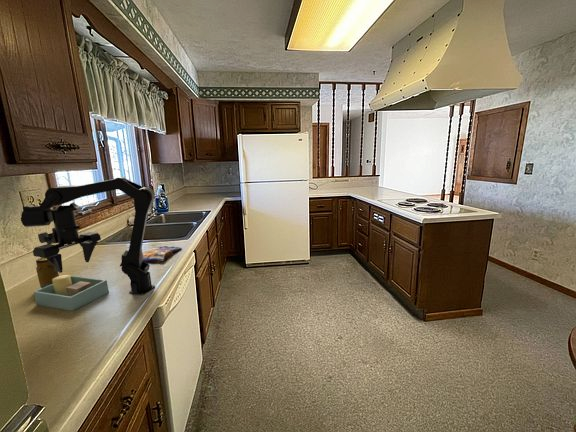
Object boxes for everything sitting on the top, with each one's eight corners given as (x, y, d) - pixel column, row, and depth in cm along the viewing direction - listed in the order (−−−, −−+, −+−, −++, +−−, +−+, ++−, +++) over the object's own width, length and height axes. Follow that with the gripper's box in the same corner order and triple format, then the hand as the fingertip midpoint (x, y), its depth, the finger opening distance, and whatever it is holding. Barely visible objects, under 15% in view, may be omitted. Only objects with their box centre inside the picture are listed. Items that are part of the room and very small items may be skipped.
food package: (124, 265, 130) (123, 257, 129) (155, 248, 154) (154, 241, 153) (167, 266, 127) (166, 257, 126) (191, 248, 152) (190, 241, 151)
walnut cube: (83, 293, 100) (80, 281, 99) (93, 295, 99) (90, 282, 98) (69, 300, 96) (66, 287, 95) (79, 302, 94) (76, 289, 93)
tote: (74, 287, 107) (72, 275, 106) (108, 292, 102) (106, 280, 101) (36, 304, 95) (33, 291, 93) (73, 311, 90) (70, 297, 89)
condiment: (48, 283, 111) (42, 255, 108) (70, 282, 112) (64, 254, 109) (34, 292, 104) (27, 262, 101) (57, 290, 105) (51, 261, 102)
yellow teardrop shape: (77, 292, 101) (73, 274, 100) (65, 299, 97) (60, 280, 95) (65, 291, 102) (61, 274, 101) (53, 298, 97) (48, 280, 96)
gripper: (75, 216, 102) (83, 255, 106) (15, 230, 85) (27, 276, 88) (98, 218, 99) (105, 258, 103) (40, 231, 82) (51, 279, 85)
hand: (74, 267), depth 95 cm, fingers open, 9 cm apart
